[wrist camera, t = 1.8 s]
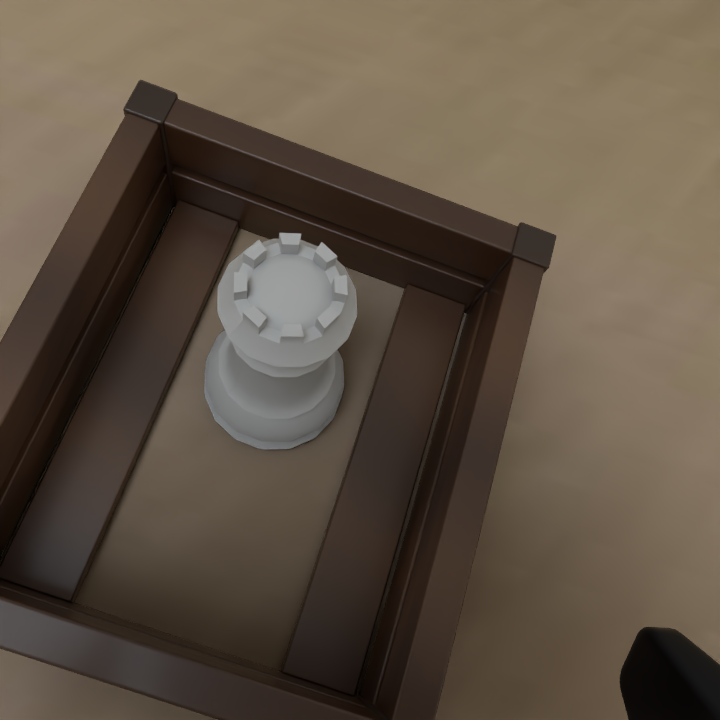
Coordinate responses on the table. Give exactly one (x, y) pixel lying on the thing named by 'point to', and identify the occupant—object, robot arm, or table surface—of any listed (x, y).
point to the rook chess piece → (280, 342)
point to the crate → (159, 363)
